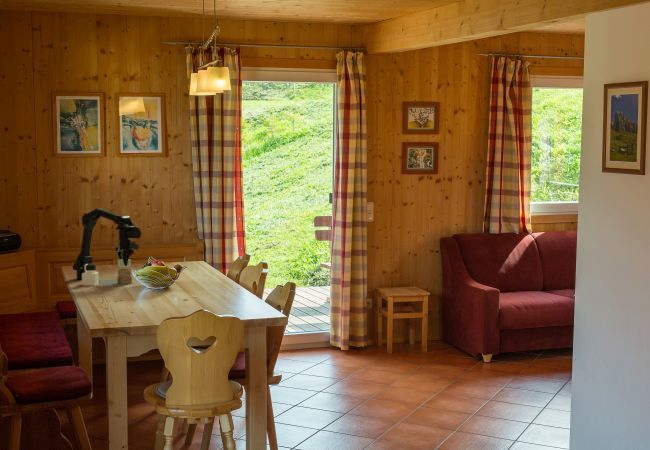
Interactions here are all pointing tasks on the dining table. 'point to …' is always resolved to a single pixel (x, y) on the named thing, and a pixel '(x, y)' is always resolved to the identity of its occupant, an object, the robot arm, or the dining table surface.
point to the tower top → (124, 272)
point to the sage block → (121, 263)
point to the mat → (111, 282)
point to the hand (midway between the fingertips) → (124, 265)
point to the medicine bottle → (90, 275)
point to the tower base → (124, 280)
